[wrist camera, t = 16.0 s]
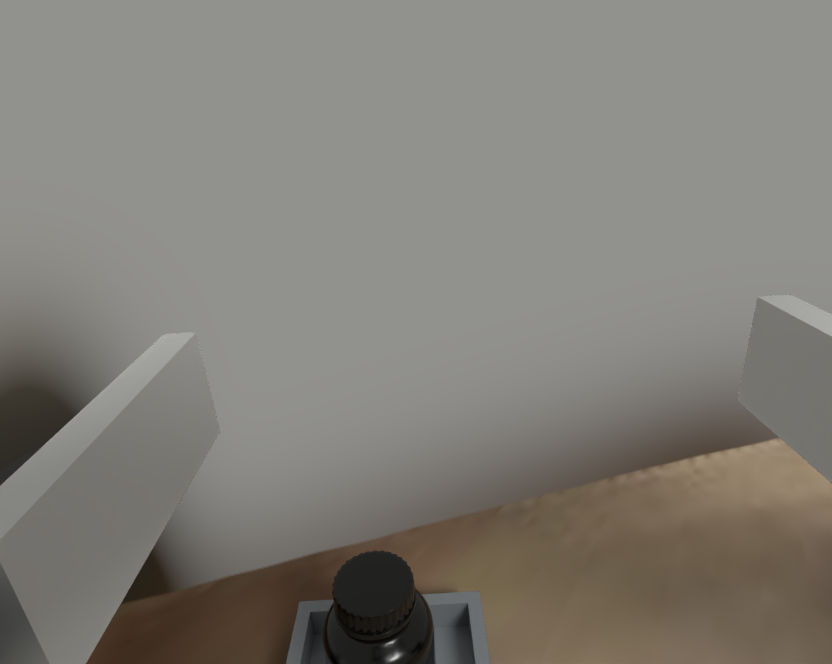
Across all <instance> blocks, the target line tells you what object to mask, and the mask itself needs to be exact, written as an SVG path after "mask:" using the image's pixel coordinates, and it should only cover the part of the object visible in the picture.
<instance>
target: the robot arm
mask: <svg viewBox="0 0 832 664" xmlns="http://www.w3.org/2000/svg"><path fill="white" fill-rule="evenodd" d="M737 400H738V401H739V402H740V403H741V404H742V405H743V406H744V407H746V408H747V409H748V410H749V411H750V412H751V413H752V414H753V415H755V416H756V417H757V418H758V419H759V420H760V421H761V422H763V423H764V424H765V425H766V426H767V427H768V428H769V429H771V430H772V431H773V432H774V433H775V434H777V436H778V437H780V438H781V439H782V440H783V441H784V442H785V443H786V444H788V445H789V446H790V447H791V448H792V449H793V450H794V451H795V452H797V453H798V454H799V455H800V456H801V457H802V458H803V459H805V460H806V461H807V462H808V463H809V464H810V465H811V466H813V467H814V468H815V469H816V470H817V471H818V472H819V473H820V474H822V475H823V476H824V477H825V478H826V479H827V480H828V481H830V482H831V483H832V315H831V314H829V313H827V312H825V311H823V310H821V309H819V308H817V307H815V306H813V305H811V304H809V303H807V302H805V301H803V300H801V299H798V298H796V297H794V296H792V295H779V296H765V297H758V298H757V303H756V308H755V313H754V318H753V323H752V328H751V333H750V338H749V343H748V349H747V353H746V358H745V363H744V368H743V373H742V378H741V383H740V388H739V394H738V398H737ZM219 433H220V429H219V425H218V421H217V416H216V412H215V408H214V404H213V400H212V396H211V392H210V387H209V383H208V379H207V375H206V371H205V367H204V362H203V358H202V354H201V350H200V347H199V342H198V338H197V333H196V332H193V333H176V334H164V335H163V336H161V338H159V339H158V340H157V341H156V342H155V343H154V344H153V345H152V346H151V347H150V348H149V349H147V350H146V351H145V352H144V353H143V354H142V355H141V356H140V357H139V358H138V359H137V360H136V361H134V362H133V363H132V364H131V365H130V366H129V367H128V368H127V369H126V370H125V371H124V372H123V373H122V374H120V375H119V376H118V377H117V378H116V379H115V380H114V381H113V382H112V383H111V384H110V385H109V386H107V387H106V388H105V389H104V390H103V391H102V392H101V393H100V394H99V395H98V396H97V397H96V398H95V399H93V400H92V401H91V402H90V403H89V404H88V405H87V406H86V407H85V408H84V409H83V410H81V411H80V412H79V413H78V414H77V415H76V416H75V417H74V418H73V419H72V420H71V421H70V422H69V423H68V424H66V425H65V426H64V427H63V428H62V429H61V430H60V431H59V432H58V433H57V434H56V435H54V437H52V438H51V439H50V440H49V441H48V442H47V443H46V444H45V445H44V446H43V447H38V448H37V449H35V450H33V451H31V452H30V453H28V454H26V455H25V456H23V457H21V458H19V459H18V460H16V461H14V462H13V463H11V464H9V465H8V466H7V467H5V468H4V469H3V470H2V471H1V472H0V664H86V663H87V661H88V659H89V657H90V656H91V654H92V652H93V651H94V649H95V647H96V645H97V644H98V642H99V640H100V638H101V637H102V635H103V633H104V632H105V630H106V628H107V626H108V625H109V623H110V621H111V620H112V618H113V616H114V614H115V613H116V611H117V609H118V607H119V606H120V604H121V602H122V600H123V599H124V597H125V595H126V594H127V592H128V590H129V588H130V587H131V585H132V583H133V581H134V580H135V578H136V576H137V574H138V573H139V571H140V569H141V568H142V566H143V564H144V563H145V560H146V559H147V557H148V556H149V554H150V552H151V550H152V549H153V547H154V545H155V544H156V542H157V540H158V538H159V537H160V535H161V533H162V531H163V530H164V528H165V526H166V525H167V523H168V521H169V519H170V518H171V516H172V514H173V512H174V511H175V509H176V507H177V506H178V504H179V502H180V500H181V499H182V497H183V495H184V493H185V492H186V490H187V488H188V487H189V485H190V483H191V481H192V479H193V478H194V476H195V474H196V472H197V471H198V469H199V467H200V466H201V464H202V462H203V461H204V459H205V457H206V455H207V454H208V452H209V450H210V449H211V447H212V445H213V443H214V441H215V440H216V438H217V436H218V435H219Z"/></svg>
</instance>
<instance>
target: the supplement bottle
mask: <svg viewBox="0 0 832 664" xmlns="http://www.w3.org/2000/svg"><path fill="white" fill-rule="evenodd" d="M332 593H333V600H334V602H333V604H332V605H331V607H330V609H329V611H328V613H327V615H326V618H325V621H324V626H323V647H324V653H325V659H326V664H436V659H435V640H434V625H433V617H432V613H431V610H430V607H429V605H428V603H427V601H426V600H425V598H424V597H423V596H422V594H421V593H420V592H419V591H418V590H417V589H416V588H415V586H414V579H413V573H412V572H411V568H410V567H409V566H408V565H407V562H405V561H404V560H403V559H402V558H401V557H398V556H397V555H396V554H392V553H390V552H384V551H372V552H365V553H361V554H359V555H358V556H354V557H353V558H352V559H350V560H348V561H347V562H346V563H345V564H344V565H342V567H341V569H340V570H339V571H338V572H337V575H336V576H335V578H334V583H333V592H332Z"/></svg>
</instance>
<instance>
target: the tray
mask: <svg viewBox="0 0 832 664" xmlns="http://www.w3.org/2000/svg"><path fill="white" fill-rule="evenodd" d="M422 596H423V597H424V598H425V600H426V601H427V603H428V605H429V607H430V610H431V613H432V617H433V625H434V640H435V659H436V664H490V657H489V651H488V644H487V637H486V631H485V624H484V617H483V611H482V604H481V597H480V591H471V592H453V593H436V594H422ZM333 602H334V600H316V601H299V606H298V610H297V615H296V619H295V624H294V629H293V633H292V638H291V642H290V647H289V652H288V656H287V661H286V664H326V659H325V653H324V647H323V626H324V621H325V618H326V615H327V613H328V611H329V609H330V607H331V605H332V604H333Z"/></svg>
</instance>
